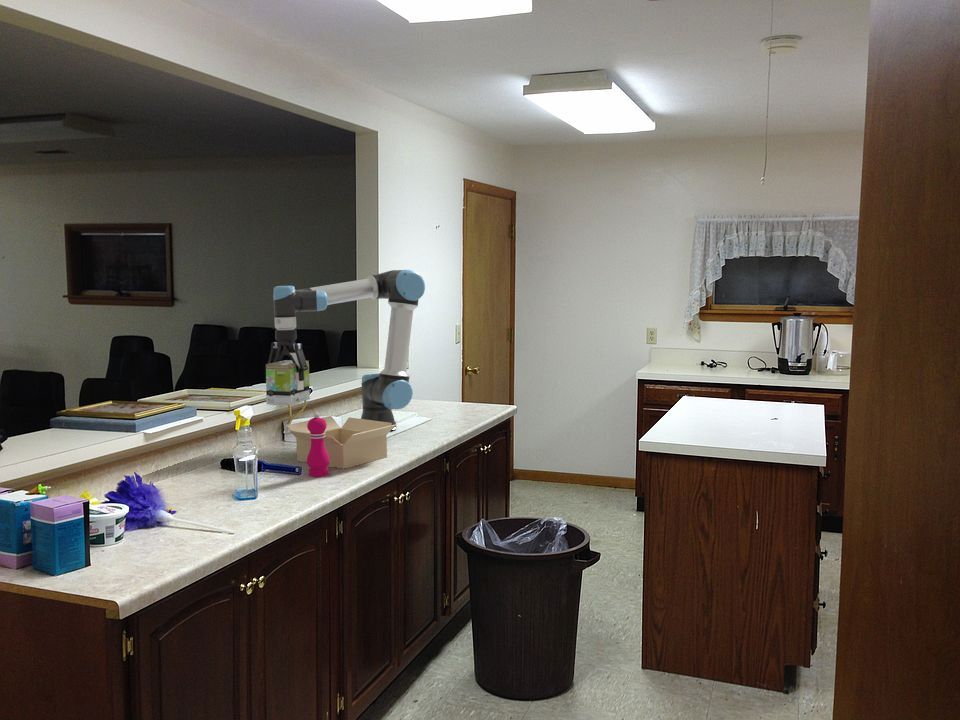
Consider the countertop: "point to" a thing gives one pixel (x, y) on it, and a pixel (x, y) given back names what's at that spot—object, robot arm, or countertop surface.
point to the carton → (346, 441)
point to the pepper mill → (317, 448)
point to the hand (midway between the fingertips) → (288, 388)
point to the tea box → (285, 383)
